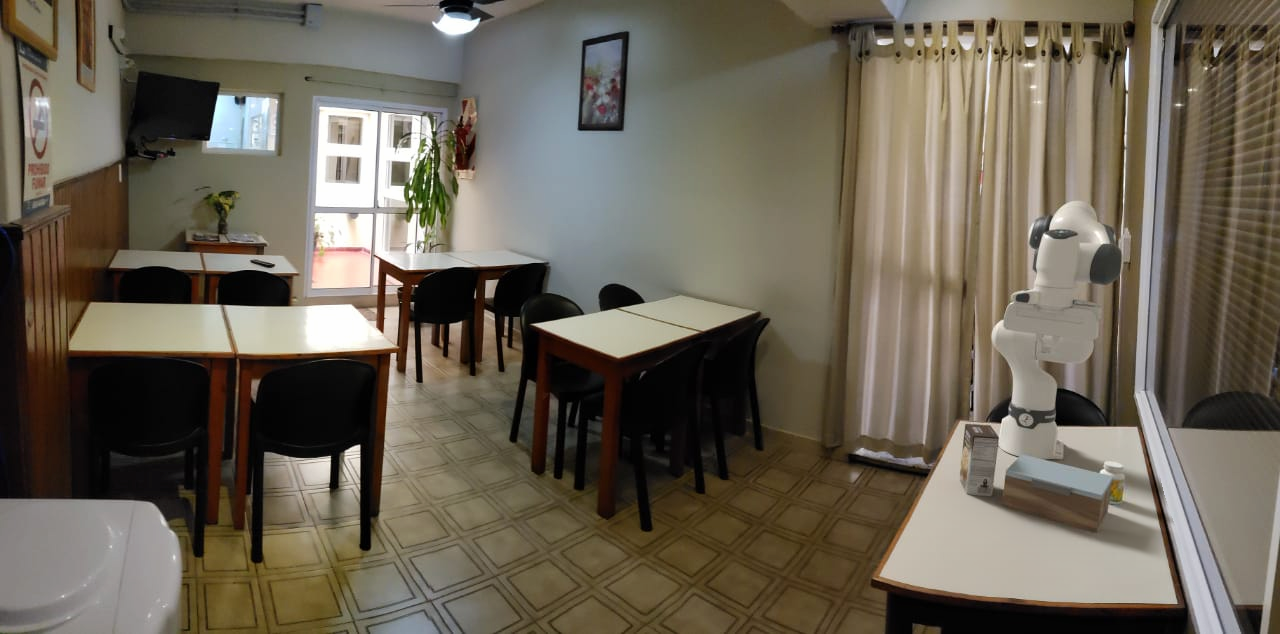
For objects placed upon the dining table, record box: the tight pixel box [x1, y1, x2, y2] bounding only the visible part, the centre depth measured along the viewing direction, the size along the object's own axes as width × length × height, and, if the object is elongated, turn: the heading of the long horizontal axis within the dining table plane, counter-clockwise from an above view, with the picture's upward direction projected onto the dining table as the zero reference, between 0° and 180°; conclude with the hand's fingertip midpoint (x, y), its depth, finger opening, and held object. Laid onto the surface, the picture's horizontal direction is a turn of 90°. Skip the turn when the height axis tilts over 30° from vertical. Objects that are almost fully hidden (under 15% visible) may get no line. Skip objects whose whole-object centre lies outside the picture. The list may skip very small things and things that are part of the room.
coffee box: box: [959, 423, 999, 497], centre depth 183 cm, size 9×6×16 cm
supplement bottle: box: [1099, 460, 1126, 505], centre depth 177 cm, size 5×5×10 cm
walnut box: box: [1001, 475, 1112, 534], centre depth 172 cm, size 14×20×8 cm
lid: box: [1004, 454, 1113, 500], centre depth 171 cm, size 15×20×2 cm
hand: (1046, 353), depth 174 cm, fingers closed
